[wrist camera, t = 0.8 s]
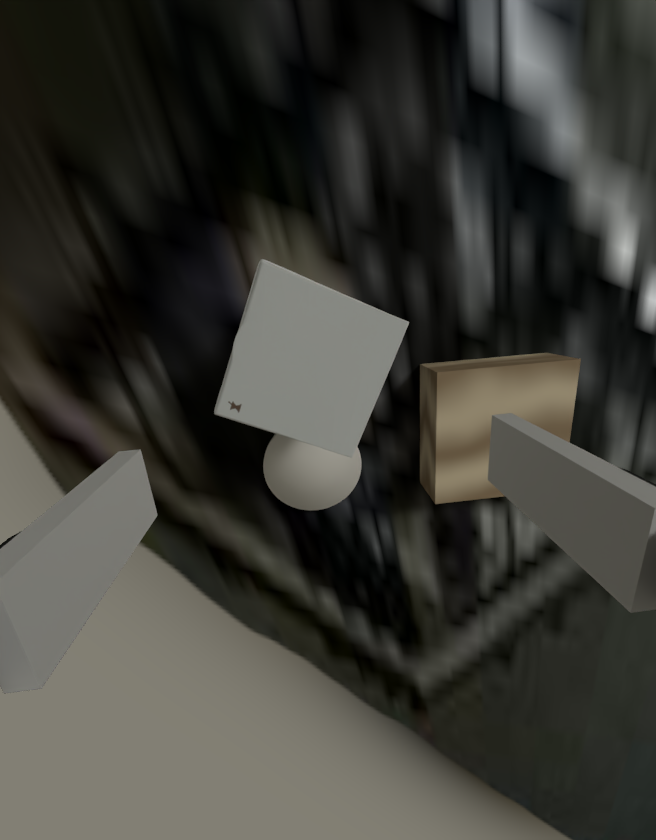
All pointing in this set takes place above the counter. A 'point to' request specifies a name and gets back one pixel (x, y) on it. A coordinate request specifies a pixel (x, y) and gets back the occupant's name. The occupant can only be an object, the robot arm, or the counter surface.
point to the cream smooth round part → (309, 473)
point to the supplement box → (307, 361)
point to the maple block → (486, 415)
